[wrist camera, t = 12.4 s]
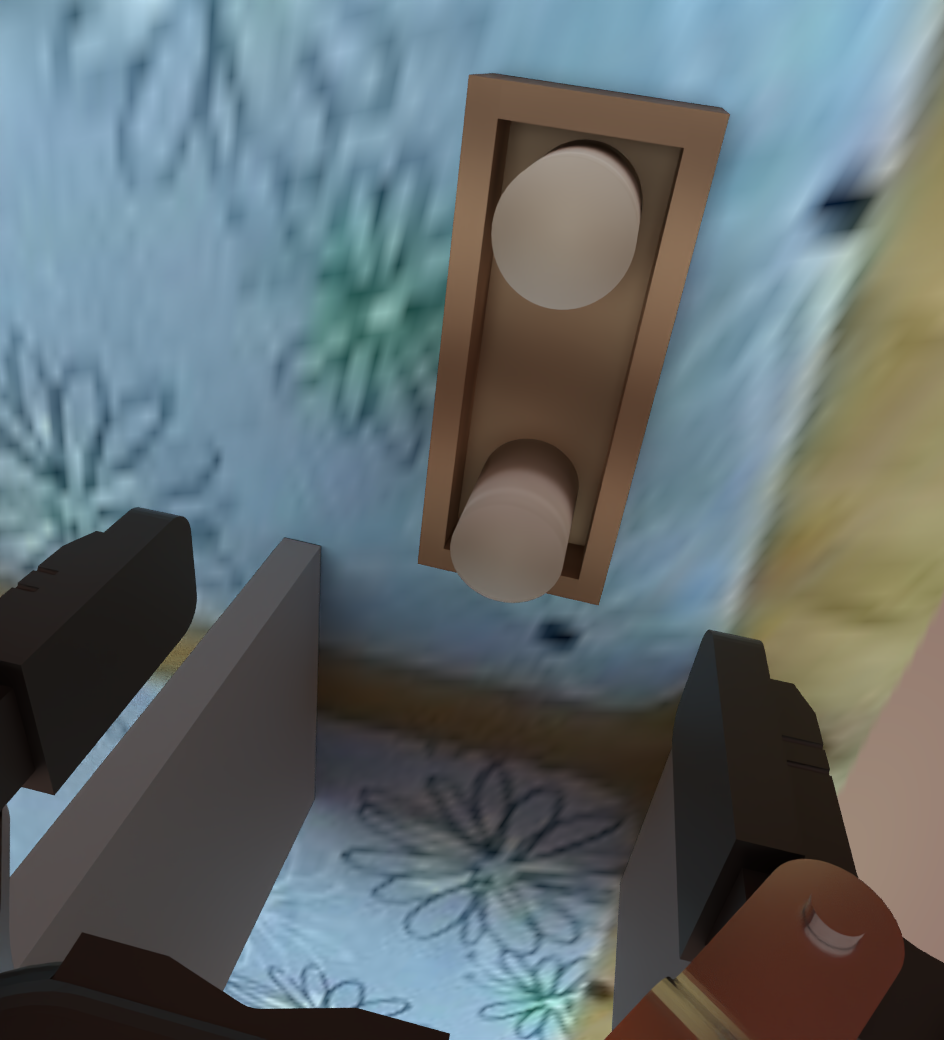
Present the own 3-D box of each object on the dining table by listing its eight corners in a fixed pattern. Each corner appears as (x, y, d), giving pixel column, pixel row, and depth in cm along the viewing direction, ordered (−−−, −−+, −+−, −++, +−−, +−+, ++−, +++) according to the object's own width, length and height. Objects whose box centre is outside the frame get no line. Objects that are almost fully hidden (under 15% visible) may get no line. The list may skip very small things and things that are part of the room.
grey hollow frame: (284, 537, 30) (-343, 1313, 11) (755, 647, 28) (934, 1821, 9) (285, 791, 38) (-81, 1491, 19) (652, 891, 36) (636, 1786, 17)
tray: (493, 73, 20) (443, 76, 16) (721, 108, 20) (738, 121, 15) (440, 518, 28) (396, 606, 23) (604, 555, 27) (592, 653, 23)
